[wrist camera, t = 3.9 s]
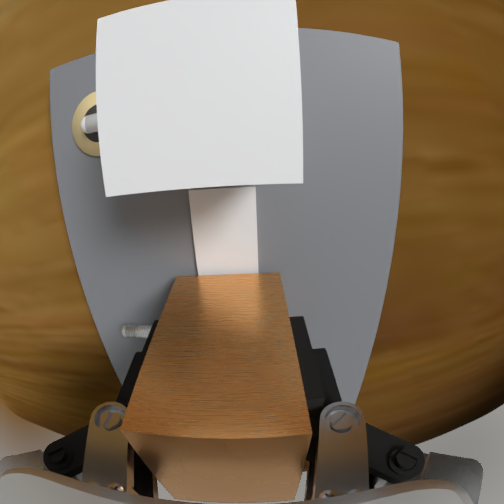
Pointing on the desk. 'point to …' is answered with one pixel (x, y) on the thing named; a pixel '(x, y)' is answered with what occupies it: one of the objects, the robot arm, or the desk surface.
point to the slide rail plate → (232, 167)
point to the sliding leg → (221, 392)
